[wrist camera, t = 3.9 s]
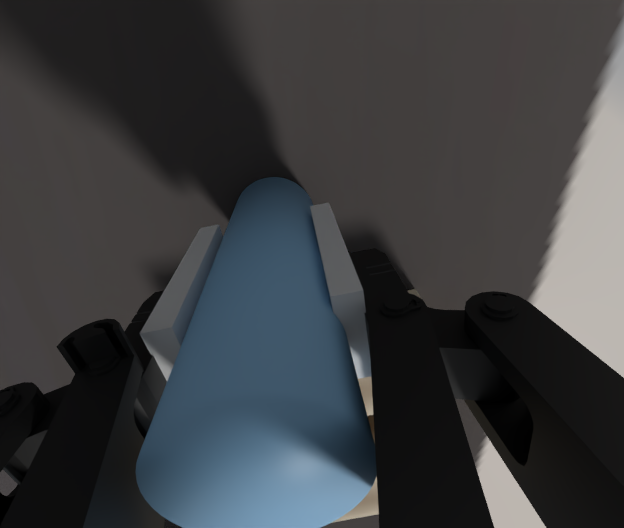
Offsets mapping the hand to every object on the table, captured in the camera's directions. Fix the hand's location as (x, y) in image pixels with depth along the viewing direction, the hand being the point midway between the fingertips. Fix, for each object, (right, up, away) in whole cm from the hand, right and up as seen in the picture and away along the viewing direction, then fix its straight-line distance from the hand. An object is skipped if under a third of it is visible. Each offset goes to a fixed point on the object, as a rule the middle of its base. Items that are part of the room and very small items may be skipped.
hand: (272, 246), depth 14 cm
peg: (0, +2, +3) cm, 4 cm away
